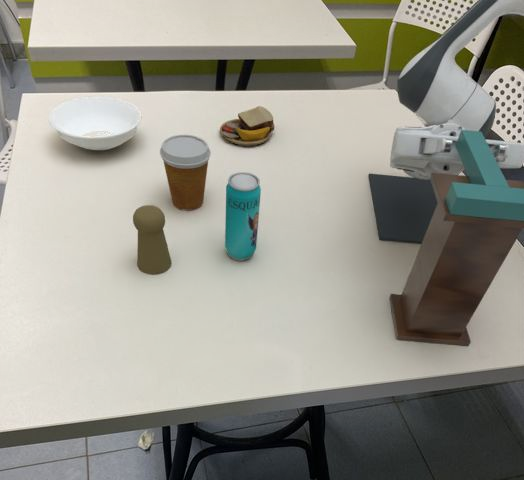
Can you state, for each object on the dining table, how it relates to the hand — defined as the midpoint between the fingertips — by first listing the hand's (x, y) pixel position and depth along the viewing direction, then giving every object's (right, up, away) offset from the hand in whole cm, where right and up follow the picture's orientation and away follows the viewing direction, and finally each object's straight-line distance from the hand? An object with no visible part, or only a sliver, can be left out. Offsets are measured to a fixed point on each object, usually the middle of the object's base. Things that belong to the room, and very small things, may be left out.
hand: (475, 148), depth 70 cm
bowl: (-68, +19, +43) cm, 82 cm away
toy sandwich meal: (-34, +24, +51) cm, 66 cm away
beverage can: (-35, -11, +21) cm, 42 cm away
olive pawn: (-50, -13, +18) cm, 55 cm away
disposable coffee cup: (-46, +2, +31) cm, 55 cm away
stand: (-2, -24, +13) cm, 27 cm away
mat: (+1, +1, +35) cm, 35 cm away
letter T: (0, -5, -2) cm, 6 cm away
